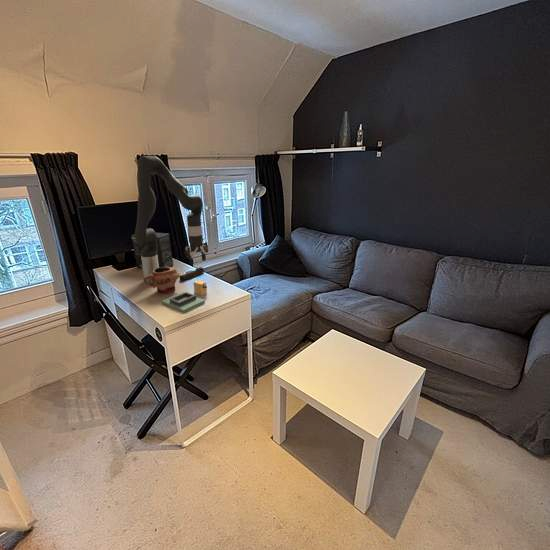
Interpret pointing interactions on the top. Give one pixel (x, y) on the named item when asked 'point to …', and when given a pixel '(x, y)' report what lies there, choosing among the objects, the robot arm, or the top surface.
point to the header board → (183, 301)
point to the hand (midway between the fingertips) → (198, 262)
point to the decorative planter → (163, 279)
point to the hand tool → (192, 274)
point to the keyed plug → (200, 287)
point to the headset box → (162, 252)
